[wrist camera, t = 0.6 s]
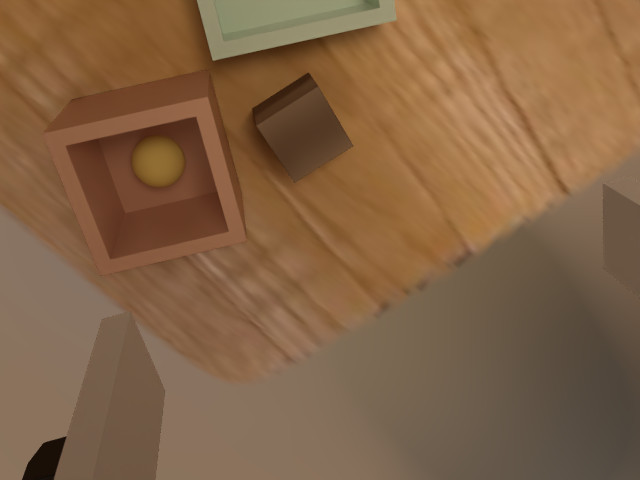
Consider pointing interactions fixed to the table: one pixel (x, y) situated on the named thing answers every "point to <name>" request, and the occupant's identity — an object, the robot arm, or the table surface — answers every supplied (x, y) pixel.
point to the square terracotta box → (129, 191)
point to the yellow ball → (158, 161)
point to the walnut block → (301, 127)
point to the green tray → (284, 21)
